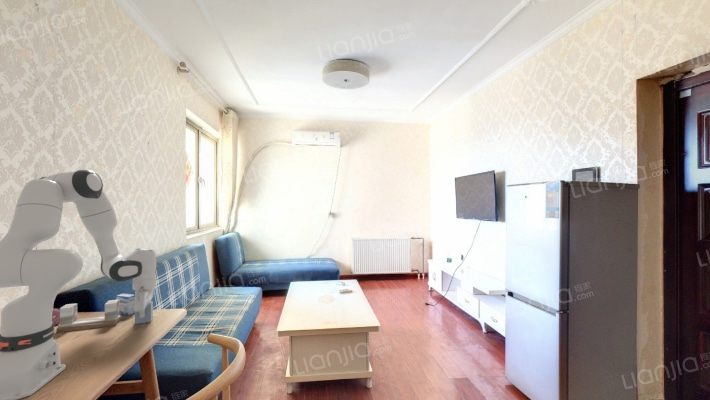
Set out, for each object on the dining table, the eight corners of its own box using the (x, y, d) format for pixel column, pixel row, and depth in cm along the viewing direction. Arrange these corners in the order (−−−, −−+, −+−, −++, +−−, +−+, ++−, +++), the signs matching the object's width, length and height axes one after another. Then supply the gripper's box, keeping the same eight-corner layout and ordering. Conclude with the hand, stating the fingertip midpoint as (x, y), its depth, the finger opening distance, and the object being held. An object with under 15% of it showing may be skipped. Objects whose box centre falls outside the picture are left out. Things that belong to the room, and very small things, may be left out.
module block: (150, 322, 140) (151, 303, 140) (134, 324, 138) (135, 304, 138) (152, 318, 144) (152, 300, 144) (137, 320, 142) (137, 301, 142)
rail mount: (116, 325, 136) (116, 303, 136) (56, 332, 128) (56, 309, 128) (121, 318, 143) (121, 298, 143) (65, 324, 135) (65, 303, 135)
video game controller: (63, 326, 137) (70, 309, 141) (53, 325, 133) (61, 308, 137) (42, 325, 138) (50, 308, 142) (32, 324, 134) (40, 307, 137)
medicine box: (114, 313, 149) (115, 295, 149) (123, 310, 154) (124, 292, 154) (128, 315, 148) (128, 297, 148) (136, 312, 152) (137, 294, 152)
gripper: (147, 289, 133) (147, 322, 133) (156, 278, 151) (156, 306, 151) (130, 291, 130) (129, 324, 130) (141, 279, 149) (140, 308, 149)
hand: (143, 314), depth 141 cm, fingers closed on module block, 4 cm apart
